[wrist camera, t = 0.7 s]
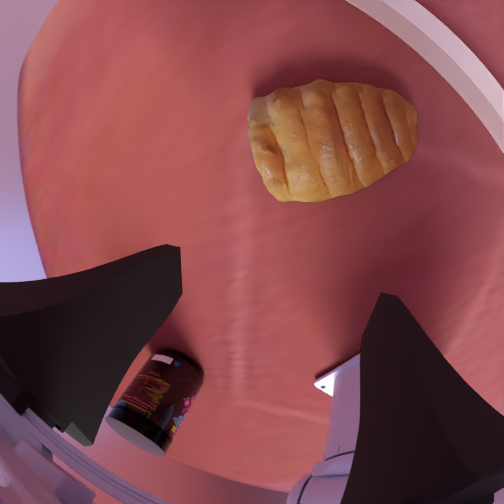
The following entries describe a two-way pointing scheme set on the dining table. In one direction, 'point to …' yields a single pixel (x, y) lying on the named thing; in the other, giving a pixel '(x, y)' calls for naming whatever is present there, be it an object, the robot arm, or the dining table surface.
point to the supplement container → (157, 401)
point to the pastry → (329, 138)
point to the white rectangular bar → (443, 57)
